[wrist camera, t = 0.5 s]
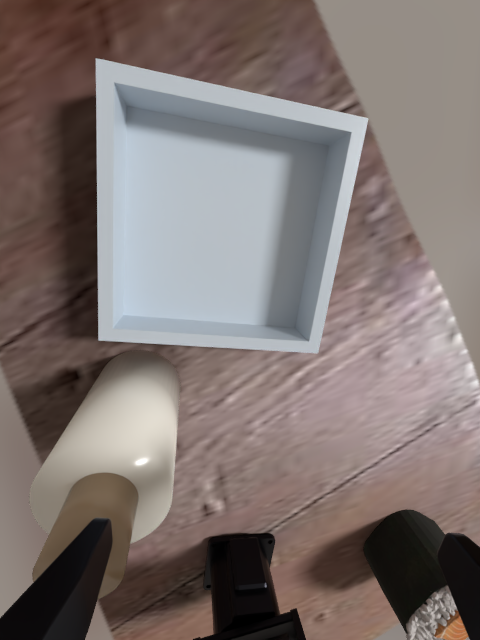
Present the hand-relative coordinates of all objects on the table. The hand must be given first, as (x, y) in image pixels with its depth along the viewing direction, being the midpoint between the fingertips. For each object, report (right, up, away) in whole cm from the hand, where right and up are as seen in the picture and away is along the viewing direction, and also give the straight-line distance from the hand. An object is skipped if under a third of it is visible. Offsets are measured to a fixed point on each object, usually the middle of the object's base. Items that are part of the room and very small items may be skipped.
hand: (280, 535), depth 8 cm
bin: (-2, +12, +12) cm, 17 cm away
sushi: (+16, -18, +25) cm, 35 cm away
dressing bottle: (-9, +1, +15) cm, 17 cm away
